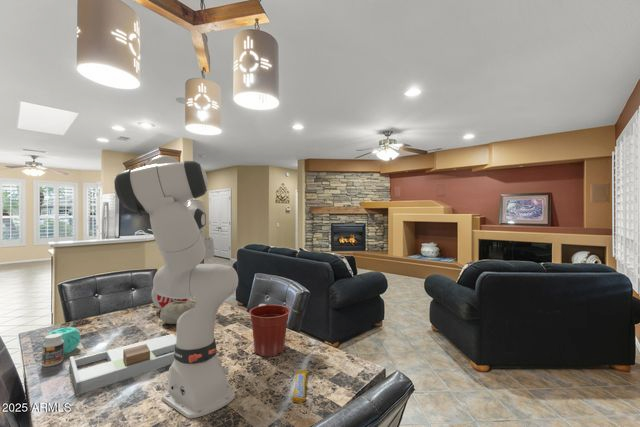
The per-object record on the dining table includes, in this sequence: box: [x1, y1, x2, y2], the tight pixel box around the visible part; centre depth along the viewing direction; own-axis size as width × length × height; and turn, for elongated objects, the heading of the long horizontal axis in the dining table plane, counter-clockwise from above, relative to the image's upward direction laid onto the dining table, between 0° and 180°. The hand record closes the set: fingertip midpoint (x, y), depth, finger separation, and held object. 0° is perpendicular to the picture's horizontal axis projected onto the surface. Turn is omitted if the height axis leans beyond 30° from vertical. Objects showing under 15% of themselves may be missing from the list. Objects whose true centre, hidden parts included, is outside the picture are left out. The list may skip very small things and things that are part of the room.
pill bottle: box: [41, 333, 65, 367], centre depth 104 cm, size 6×6×10 cm
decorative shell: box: [159, 300, 196, 325], centre depth 146 cm, size 18×18×10 cm
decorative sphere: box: [150, 286, 189, 310], centre depth 165 cm, size 20×20×20 cm
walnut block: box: [123, 344, 150, 367], centre depth 101 cm, size 7×7×4 cm
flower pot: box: [248, 304, 291, 358], centre depth 117 cm, size 16×16×16 cm
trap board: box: [69, 333, 176, 396], centre depth 105 cm, size 22×34×4 cm, turn 135°
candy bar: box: [291, 369, 309, 403], centre depth 91 cm, size 17×4×2 cm, turn 0°
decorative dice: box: [42, 326, 81, 355], centre depth 113 cm, size 8×8×8 cm
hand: (192, 270), depth 122 cm, fingers closed
